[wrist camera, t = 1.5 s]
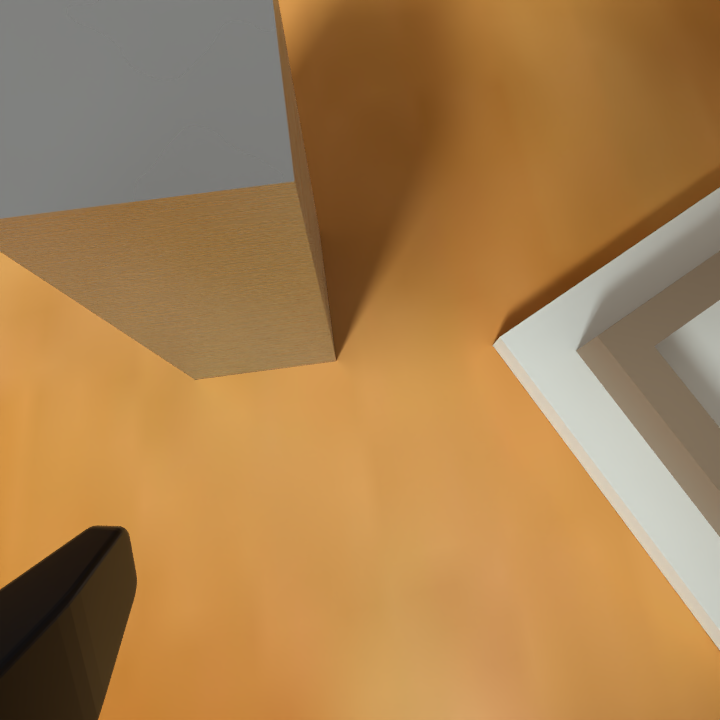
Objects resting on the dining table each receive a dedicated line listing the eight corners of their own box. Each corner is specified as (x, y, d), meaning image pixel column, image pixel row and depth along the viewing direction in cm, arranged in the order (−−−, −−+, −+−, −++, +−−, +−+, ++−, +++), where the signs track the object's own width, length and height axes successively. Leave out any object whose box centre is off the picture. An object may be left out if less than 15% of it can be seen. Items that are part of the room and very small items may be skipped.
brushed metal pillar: (336, 361, 22) (294, 181, 9) (194, 379, 22) (-42, 223, 9) (319, 229, 23) (261, -94, 10) (184, 246, 23) (-41, -58, 10)
